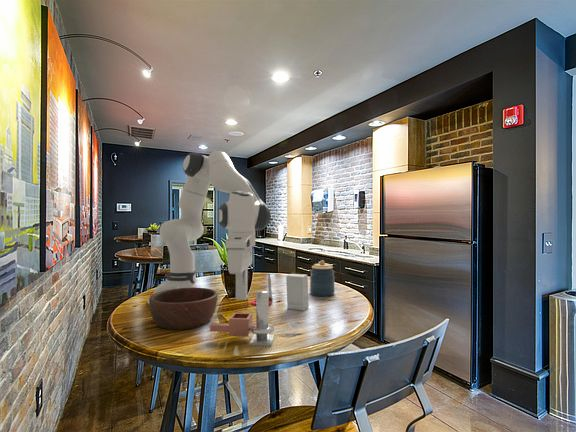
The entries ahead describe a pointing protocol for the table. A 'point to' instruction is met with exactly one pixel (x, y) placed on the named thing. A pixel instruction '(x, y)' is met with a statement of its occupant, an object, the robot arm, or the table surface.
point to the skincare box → (297, 291)
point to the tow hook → (268, 290)
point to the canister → (322, 280)
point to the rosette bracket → (250, 323)
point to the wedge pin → (242, 287)
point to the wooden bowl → (183, 307)
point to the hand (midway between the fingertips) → (241, 282)
